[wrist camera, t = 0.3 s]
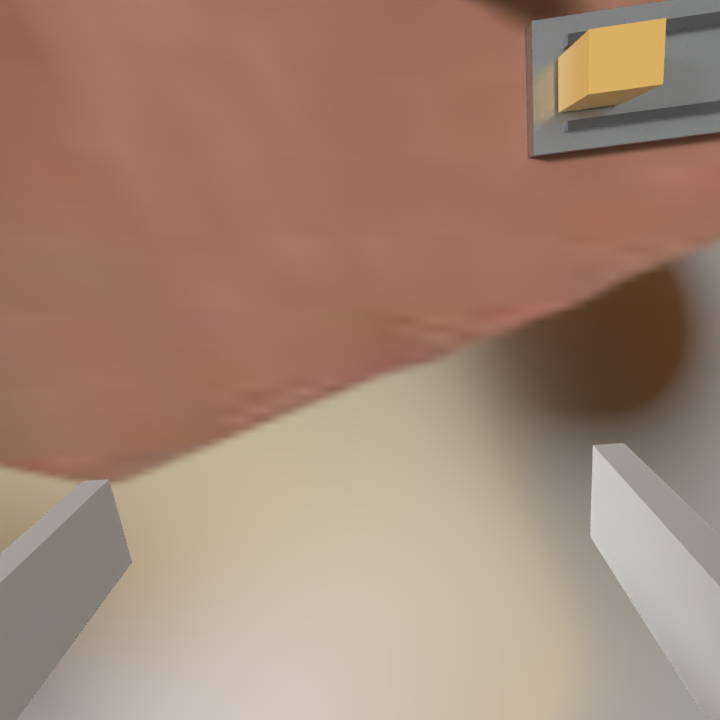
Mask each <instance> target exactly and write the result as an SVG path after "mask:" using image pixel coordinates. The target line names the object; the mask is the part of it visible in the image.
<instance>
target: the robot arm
mask: <svg viewBox="0 0 720 720" xmlns="http://www.w3.org/2000/svg"><path fill="white" fill-rule="evenodd" d="M592 464H593V465H592V497H591V530H590V532H591V533H590V537H591V538H592V540H593V541H594V543H595V545H596V546H597V548H598V549H599V551H600V553H601V554H602V556H603V557H604V559H605V560H606V562H607V564H608V565H609V567H610V568H611V570H612V571H613V573H614V575H615V576H616V578H617V579H618V581H619V583H620V584H621V586H622V587H623V589H624V590H625V592H626V594H627V595H628V596H629V598H630V600H631V601H632V603H633V605H634V606H635V608H636V609H637V611H638V613H639V614H640V616H641V617H642V619H643V620H644V622H645V624H646V625H647V627H648V628H649V630H650V631H651V633H652V635H653V636H654V638H655V639H656V641H657V642H658V644H659V645H660V647H661V649H662V650H663V652H664V654H665V655H666V657H667V658H668V660H669V661H670V663H671V665H672V666H673V668H674V669H675V671H676V672H677V674H678V676H679V677H680V679H681V680H682V682H683V683H684V685H685V687H686V688H687V690H688V691H689V693H690V694H691V696H692V698H693V699H694V701H695V702H696V704H697V705H698V707H699V708H700V710H701V712H702V713H703V715H704V717H705V718H706V719H707V720H720V535H719V534H718V533H717V532H716V531H715V530H714V529H712V527H711V526H709V525H708V524H707V523H706V522H705V521H704V520H703V519H702V518H701V517H700V516H699V515H698V514H697V513H696V512H695V511H694V510H693V509H692V508H691V507H690V506H689V505H688V504H686V502H684V501H683V500H682V499H681V498H680V497H679V496H678V495H677V494H676V493H675V492H674V491H673V490H672V489H671V488H670V487H669V486H668V485H667V484H666V483H665V482H664V481H663V480H662V479H661V478H660V477H658V476H657V475H656V474H655V473H654V472H653V471H652V470H651V469H650V468H649V467H648V466H647V465H646V464H645V463H644V462H643V461H642V460H641V459H640V458H639V457H638V456H637V455H635V453H634V452H632V451H631V450H630V449H629V448H628V447H627V446H626V445H625V444H624V443H618V444H604V445H593V463H592ZM131 563H132V560H131V557H130V553H129V550H128V546H127V542H126V539H125V535H124V532H123V528H122V525H121V521H120V517H119V514H118V510H117V507H116V503H115V499H114V496H113V492H112V489H111V485H110V481H109V479H106V480H92V481H83V482H81V483H80V484H79V485H78V486H77V487H76V488H75V489H73V490H72V491H71V492H70V493H69V494H68V495H67V496H65V497H64V498H63V499H62V500H61V501H60V502H59V503H58V504H56V505H55V506H54V507H53V508H52V509H51V510H49V511H48V512H47V513H46V514H45V515H44V516H43V517H42V518H41V519H39V520H38V521H37V522H36V523H35V524H33V526H31V527H30V528H29V529H28V530H27V531H26V532H25V533H23V534H22V535H21V536H20V537H19V538H18V539H16V540H15V541H14V542H13V543H12V544H11V545H10V546H8V547H7V548H6V549H5V550H4V551H3V552H2V553H0V720H17V718H18V717H19V716H20V714H21V713H22V712H23V710H24V709H25V708H26V706H27V705H28V704H29V702H30V701H31V699H32V698H33V697H34V695H35V694H36V692H37V691H38V690H39V689H40V687H41V686H42V684H43V683H44V682H45V680H46V679H47V678H48V676H49V675H50V673H51V672H52V671H53V669H54V668H55V666H56V665H57V664H58V663H59V661H60V660H61V658H62V657H63V656H64V654H65V653H66V652H67V650H68V649H69V648H70V646H71V645H72V643H73V642H74V641H75V639H76V638H77V637H78V635H79V634H80V632H81V631H82V630H83V628H84V627H85V626H86V624H87V623H88V622H89V620H90V619H91V618H92V616H93V615H94V613H95V612H96V611H97V609H98V608H99V607H100V605H101V604H102V602H103V601H104V600H105V598H106V597H107V596H108V594H109V593H110V592H111V590H112V589H113V588H114V586H115V585H116V583H117V582H118V581H119V579H120V578H121V577H122V575H123V574H124V573H125V571H126V570H127V568H128V567H129V566H130V564H131Z"/></svg>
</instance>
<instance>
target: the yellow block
mask: <svg viewBox="0 0 720 720" xmlns="http://www.w3.org/2000/svg"><path fill="white" fill-rule="evenodd" d="M665 36H666V18H662V19H655V20H648V21H642V22H635V23H628V24H621V25H614V26H608V27H601V28H594V29H589V30H588V31H587V32H586V33H585V34H584V35H582V36H581V37H580V38H579V39H578V40H577V41H576V42H575V43H574V44H573V45H572V46H571V47H569V48H568V49H567V50H566V51H565V52H564V53H563V54H562V55H561V56H560V57H559V58H558V113H559V112H567V111H574V110H581V109H589V108H596V107H604V106H611V105H619V104H623V103H625V102H627V101H629V100H631V99H633V98H635V97H637V96H640V95H642V94H644V93H646V92H648V91H650V90H652V89H654V88H656V87H658V86H660V85H663V76H664V56H665Z"/></svg>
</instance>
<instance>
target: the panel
mask: <svg viewBox="0 0 720 720" xmlns="http://www.w3.org/2000/svg"><path fill="white" fill-rule="evenodd" d="M662 18H666V36H665V56H664V76H663V85H660V86H658V87H656V88H654V89H652V90H650V91H648V92H646V93H644V94H642V95H640V96H637V97H635V98H633V99H631V100H629V101H627V102H625V103H623V104H619V105H611V106H604V107H596V108H589V109H581V110H574V111H567V112H559V113H558V58H559V57H560V56H561V55H562V54H563V53H564V52H565V51H566V50H567V49H568V48H569V47H571V46H572V45H573V44H574V43H575V42H576V41H577V40H578V39H579V38H580V37H581V36H582V35H584V34H585V33H586V32H587V31H588V30H589V29H594V28H601V27H608V26H614V25H621V24H628V23H635V22H642V21H648V20H655V19H662ZM525 35H526V85H527V136H528V158H531V157H539V156H547V155H554V154H562V153H570V152H578V151H586V150H594V149H602V148H609V147H617V146H625V145H633V144H641V143H649V142H657V141H664V140H672V139H680V138H688V137H696V136H704V135H712V134H719V133H720V0H668V1H661V2H655V3H648V4H641V5H634V6H628V7H621V8H614V9H608V10H601V11H594V12H588V13H581V14H574V15H568V16H561V17H554V18H548V19H541V20H534V21H531V23H530V24H529V25H528V27H527V28H526V29H525Z"/></svg>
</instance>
